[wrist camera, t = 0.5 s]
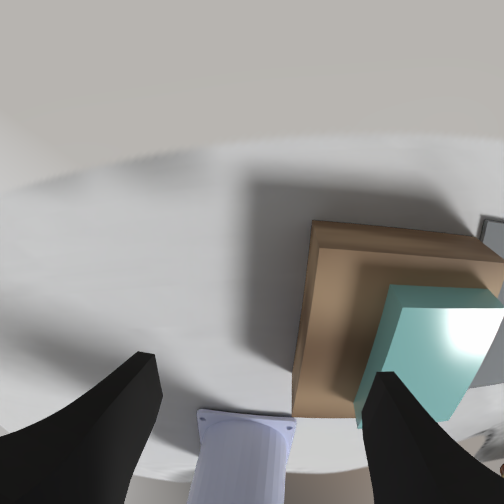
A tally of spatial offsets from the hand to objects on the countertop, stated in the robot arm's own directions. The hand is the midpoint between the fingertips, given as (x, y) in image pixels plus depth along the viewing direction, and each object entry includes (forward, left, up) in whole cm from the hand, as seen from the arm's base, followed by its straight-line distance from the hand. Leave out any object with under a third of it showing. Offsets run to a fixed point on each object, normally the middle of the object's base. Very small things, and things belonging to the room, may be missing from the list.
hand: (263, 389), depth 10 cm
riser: (-3, -7, -9) cm, 12 cm away
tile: (-3, -8, -5) cm, 10 cm away
